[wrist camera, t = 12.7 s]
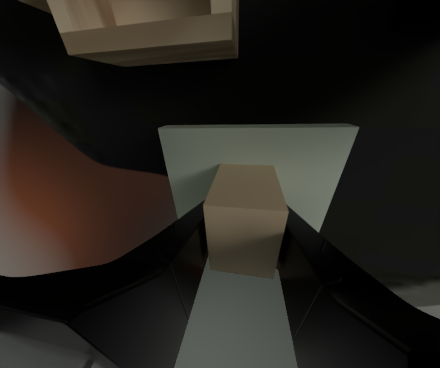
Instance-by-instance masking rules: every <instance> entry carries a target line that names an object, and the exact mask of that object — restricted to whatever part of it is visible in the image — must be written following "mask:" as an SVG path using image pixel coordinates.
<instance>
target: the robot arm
mask: <svg viewBox="0 0 440 368" xmlns="http://www.w3.org/2000/svg"><path fill="white" fill-rule="evenodd" d="M404 14H405V15H407V20H406V21H405V23H403V22H402V17H403V16H404ZM434 27H440V0H400V2H399V5H398V7H397V10H396V13H395V16H394V18H393V21H392V28H393V29H394V30H396V31H401V30H412V29H423V28H434ZM204 202H205V200H203V201H202V202H201V203H199V204H198V205H197V206H195V207H194V208H193V209H191V210H190V211H189V212H187V213H186V214H185V215H183V216H182V217H180V218H179V219H178V220H177V221H175V222H174V223H172V225H170V226H168V227H167V228H166V229H164V230H163V231H161V232H160V233H159V234H157V235H156V236H154V237H152V238H151V239H149V240H148V241H146V242H144V243H143V244H141V245H140V246H138V247H136V248H135V249H133V250H132V251H130V252H129V253H127V254H125V255H123V256H122V257H120V258H118V259H116V260H114V261H112V262H109V263H107V264H102V265H98V266H91V267H85V268H79V269H73V270H67V271H61V272H55V273H49V274H43V275H35V276H27V277H6V276H1V275H0V368H174V366H175V363H176V359H177V356H178V353H179V349H180V346H181V343H182V340H183V336H184V333H185V330H186V326H187V323H188V319H189V317H190V313H191V310H192V307H193V304H194V300H195V297H196V294H197V290H198V287H199V284H200V281H201V277H202V274H203V271H204V268H205V264H206V261H207V258H208V245H207V236H206V227H205V218H204V209H203V204H204ZM286 205H287V204H286ZM287 208H288V211H289V213H288V217H287V222H286V226H285V230H284V234H283V239H282V243H281V247H280V252H279V256H278V260H277V266H278V271H279V276H280V281H281V286H282V291H283V295H284V300H285V306H286V311H287V316H288V320H289V326H290V331H291V335H292V340H293V345H294V351H295V356H296V361H297V366H298V368H440V319H438V318H436V317H433V316H431V315H429V314H427V313H425V312H422V311H421V310H419V309H417V308H415V307H413V306H412V305H410V304H409V303H407V302H406V301H404V300H403V299H401V298H400V297H398V296H397V295H396V294H394V293H393V292H392V291H390V290H389V289H388V288H387V287H385V286H384V285H383V284H381V283H380V282H379V281H377V280H376V279H375V278H373V277H372V276H371V275H370V274H368V273H367V272H366V271H364V270H363V269H362V268H360V267H359V266H358V265H357V264H355V263H354V262H353V261H351V260H350V259H349V258H348V257H346V256H345V255H344V254H343V253H342V252H340V251H339V250H338V249H337V248H336V247H334V246H333V245H332V244H331V243H330V242H329V241H328V240H326V239H325V238H324V237H323V236H322V235H321V234H320V233H319V232H317V231H316V230H315V229H314V228H313V227H312V226H311V225H309V224H308V223H307V222H306V221H305V220H304V219H303V218H302V217H300V216H299V215H298V214H297V213H296V212H295V211H294V210H292V209H291V208H290V207H289V206H288V205H287Z"/></svg>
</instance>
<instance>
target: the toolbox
mask: <svg viewBox="0 0 440 368" xmlns="http://www.w3.org/2000/svg"><path fill="white" fill-rule="evenodd" d="M18 1H21V2H23V3H26V4H28V5H31V6H33V7H36V8H38V9H41V10H43V11H46V12H48V13H51V14H52V15H53V17H54V20H55V22H56V25H57V27H58V30H59V32H60V35H61V37H62V40H63V42H64V45H65V47H66V50H67V52H68V55H71V56H76V57H80V58H85V59H90V60H94V61H99V62H104V63H109V64H113V65H118V66H123V67H129V66H142V65H155V64H169V63H182V62H195V61H208V60H221V59H234V58H238V30H239V0H18Z"/></svg>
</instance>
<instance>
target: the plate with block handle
mask: <svg viewBox="0 0 440 368" xmlns="http://www.w3.org/2000/svg"><path fill="white" fill-rule="evenodd" d="M358 130H359V127H357V126H354V125H351V124H251V125H165V126H163V127H160V128H158V132H159V137H160V141H161V146H162V150H163V154H164V159H165V163H166V168H167V172H168V177H169V181H170V186H171V190H172V195H173V199H174V204H175V208H176V212H177V217H178V219H179V218H180V217H182V216H183V215H185V214H186V213H187V212H189V211H190V210H191V209H193V208H194V207H195V206H197V205H198V204H199V203H201V202H202V201H203V200H205V202H204V204H203V209H204V218H205V227H206V236H207V245H208V254H209V263H210V270H216V271H223V272H229V273H236V274H243V275H250V276H257V277H265V278H271V279H273V277H274V273H275V269H276V265H277V260H278V256H279V252H280V247H281V243H282V239H283V234H284V230H285V226H286V222H287V217H288V213H289V211H288V208H287V205H288V206H289V207H290V208H291V209H292V210H294V211H295V212H296V213H297V214H298V215H299V216H300V217H302V218H303V219H304V220H305V221H306V222H307V223H308V224H309V225H311V226H312V227H313V228H314V229H315V230H316V231H317V232H319V230H320V228H321V225H322V223H323V220H324V218H325V215H326V212H327V210H328V207H329V205H330V202H331V199H332V197H333V194H334V192H335V189H336V186H337V184H338V181H339V179H340V176H341V174H342V171H343V168H344V166H345V163H346V161H347V158H348V155H349V153H350V150H351V148H352V145H353V143H354V140H355V137H356V135H357V132H358ZM286 204H287V205H286Z"/></svg>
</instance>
